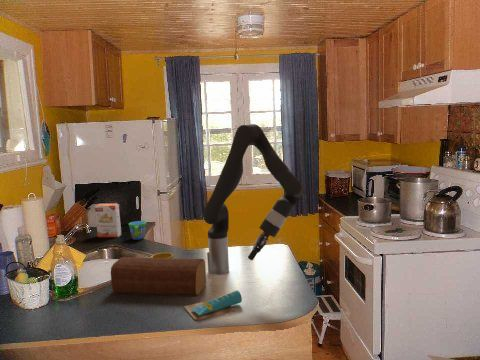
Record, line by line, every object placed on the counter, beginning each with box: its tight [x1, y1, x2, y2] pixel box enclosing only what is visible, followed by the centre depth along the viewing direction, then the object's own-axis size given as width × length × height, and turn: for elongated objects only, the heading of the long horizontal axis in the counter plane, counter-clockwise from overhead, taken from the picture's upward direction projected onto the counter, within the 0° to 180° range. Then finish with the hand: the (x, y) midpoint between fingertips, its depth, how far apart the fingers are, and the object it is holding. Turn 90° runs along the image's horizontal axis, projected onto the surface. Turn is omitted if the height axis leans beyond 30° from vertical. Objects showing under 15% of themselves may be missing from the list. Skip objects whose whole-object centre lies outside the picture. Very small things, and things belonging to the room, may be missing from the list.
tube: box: [191, 290, 243, 315], centre depth 174 cm, size 7×5×19 cm
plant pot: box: [150, 252, 174, 259], centre depth 215 cm, size 10×10×10 cm
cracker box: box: [94, 203, 122, 238], centre depth 291 cm, size 14×6×21 cm, turn 81°
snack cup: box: [128, 220, 147, 241], centre depth 283 cm, size 16×10×10 cm
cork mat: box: [183, 298, 235, 321], centre depth 175 cm, size 16×13×1 cm
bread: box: [110, 256, 207, 297], centre depth 198 cm, size 16×39×13 cm, turn 78°
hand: (249, 259), depth 183 cm, fingers closed
